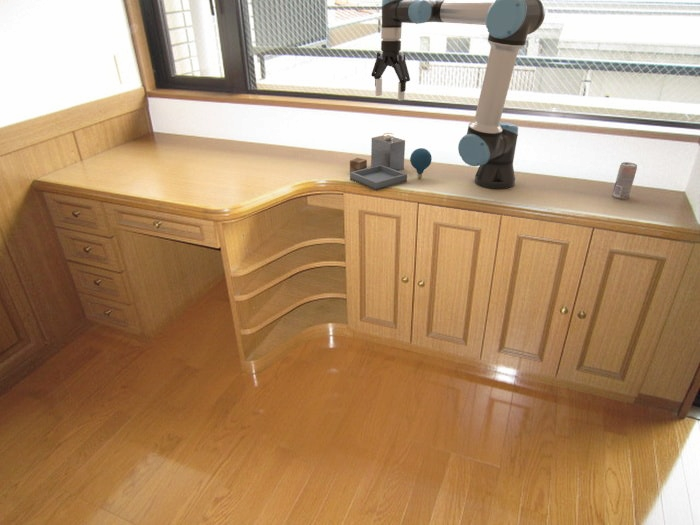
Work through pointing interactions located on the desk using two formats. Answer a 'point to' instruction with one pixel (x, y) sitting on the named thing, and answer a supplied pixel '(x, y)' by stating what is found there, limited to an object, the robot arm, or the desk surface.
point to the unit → (388, 151)
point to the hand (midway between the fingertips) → (389, 97)
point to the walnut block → (358, 164)
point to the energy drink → (624, 180)
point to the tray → (378, 177)
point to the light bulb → (420, 160)
